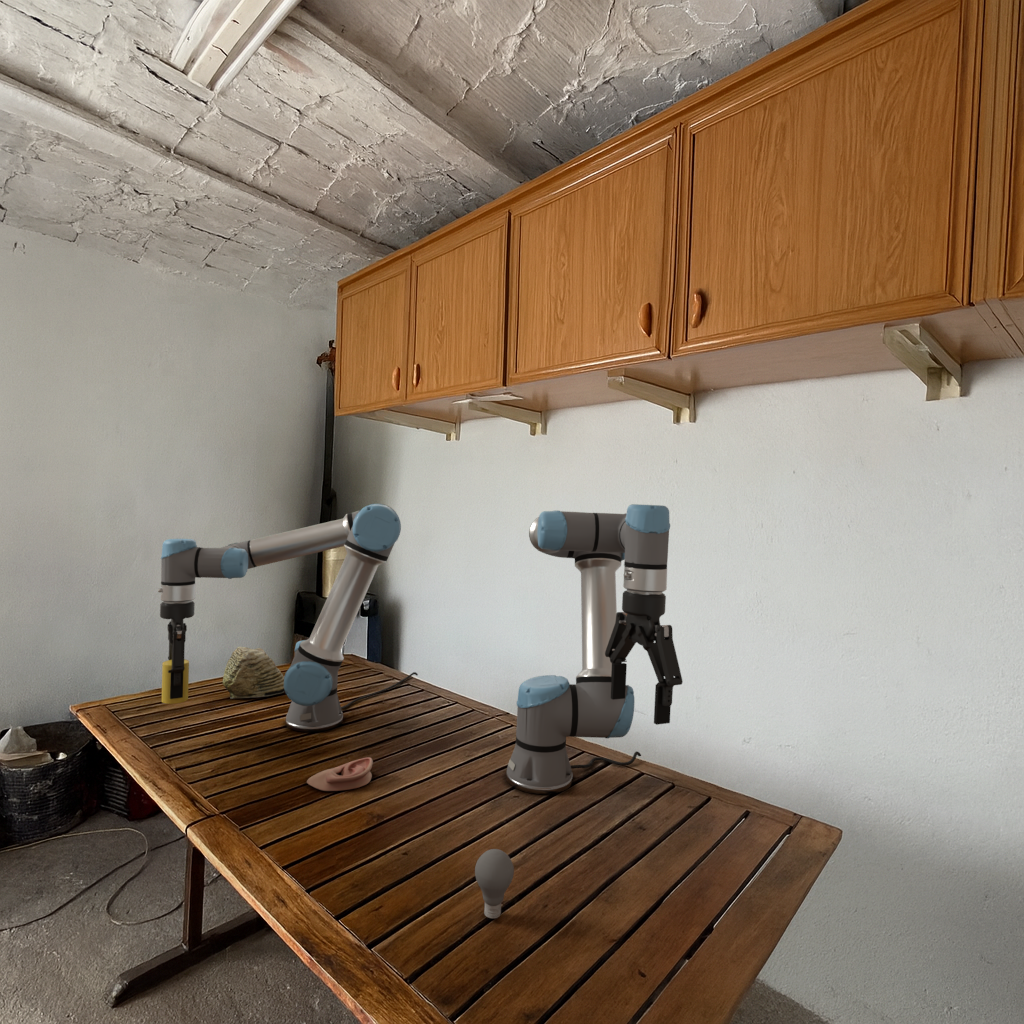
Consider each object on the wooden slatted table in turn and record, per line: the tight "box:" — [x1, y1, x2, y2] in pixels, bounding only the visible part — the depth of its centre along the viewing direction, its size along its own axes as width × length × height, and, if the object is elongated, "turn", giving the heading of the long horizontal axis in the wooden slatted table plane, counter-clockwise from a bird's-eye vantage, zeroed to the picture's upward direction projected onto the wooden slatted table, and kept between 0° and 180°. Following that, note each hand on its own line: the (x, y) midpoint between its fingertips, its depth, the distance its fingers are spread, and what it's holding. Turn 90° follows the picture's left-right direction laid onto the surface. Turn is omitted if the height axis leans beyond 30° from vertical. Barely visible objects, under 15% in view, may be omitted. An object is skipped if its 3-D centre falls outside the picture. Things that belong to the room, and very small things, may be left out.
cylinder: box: [161, 658, 190, 705], centre depth 157 cm, size 6×6×10 cm
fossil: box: [222, 646, 285, 699], centre depth 198 cm, size 9×18×15 cm, turn 132°
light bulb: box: [474, 848, 515, 919], centre depth 98 cm, size 6×6×10 cm
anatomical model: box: [306, 756, 374, 792], centre depth 141 cm, size 13×4×12 cm
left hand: (175, 693), depth 157 cm, fingers closed on cylinder, 6 cm apart
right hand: (638, 710), depth 113 cm, fingers open, 13 cm apart
